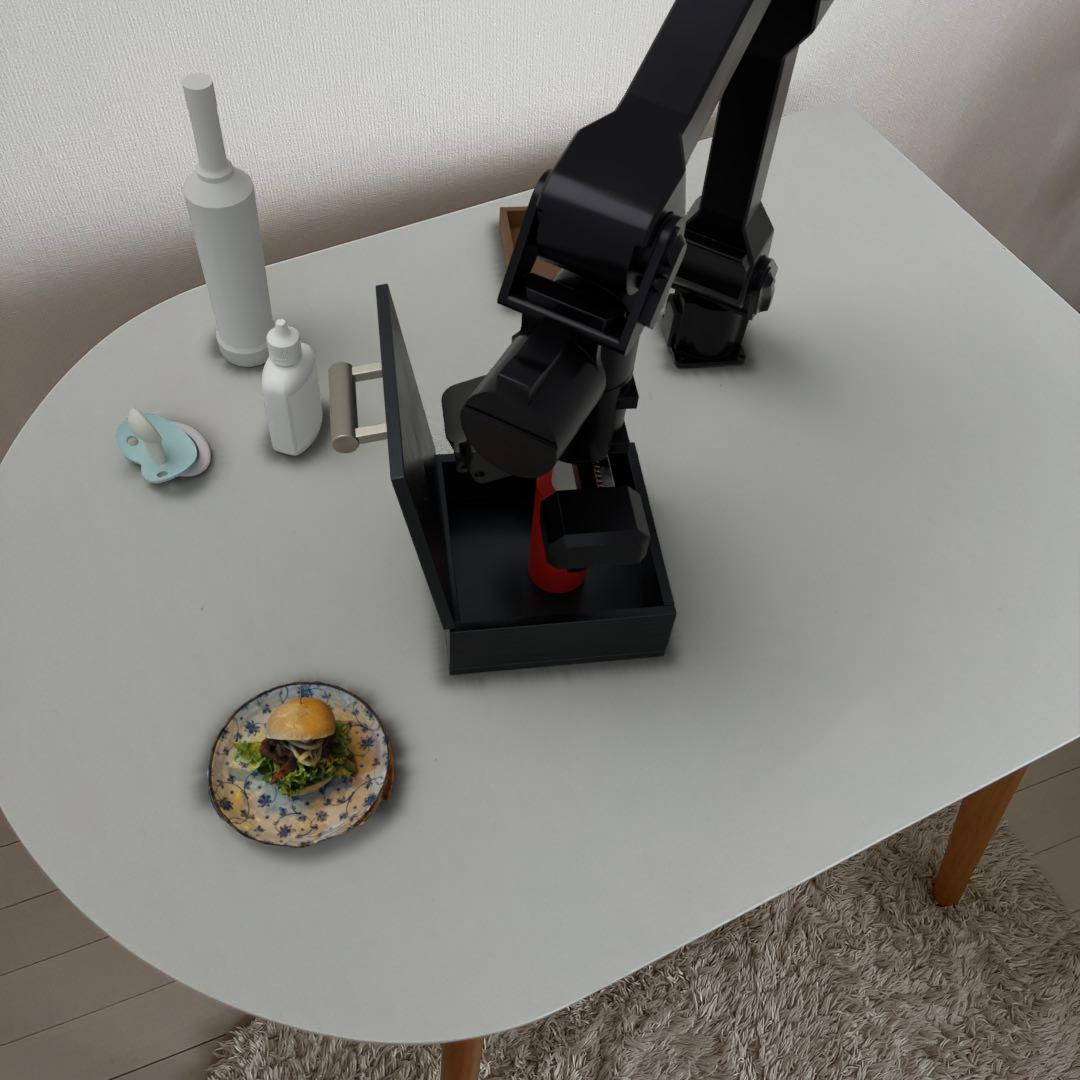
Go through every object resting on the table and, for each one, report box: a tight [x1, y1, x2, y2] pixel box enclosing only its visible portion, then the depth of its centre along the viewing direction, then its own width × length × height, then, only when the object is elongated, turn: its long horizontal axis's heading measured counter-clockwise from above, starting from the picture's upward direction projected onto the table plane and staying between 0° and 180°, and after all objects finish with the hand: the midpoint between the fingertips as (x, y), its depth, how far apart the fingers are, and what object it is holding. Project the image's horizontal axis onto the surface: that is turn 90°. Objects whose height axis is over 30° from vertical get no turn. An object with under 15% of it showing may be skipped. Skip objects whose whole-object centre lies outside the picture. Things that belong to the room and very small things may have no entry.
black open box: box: [436, 441, 678, 676], centre depth 82 cm, size 16×16×6 cm
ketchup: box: [528, 460, 598, 593], centre depth 79 cm, size 4×4×12 cm
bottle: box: [181, 72, 276, 368], centre depth 86 cm, size 5×5×25 cm
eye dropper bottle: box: [261, 318, 323, 456], centre depth 86 cm, size 4×6×12 cm
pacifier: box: [115, 407, 212, 484], centre depth 86 cm, size 7×6×6 cm
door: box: [327, 283, 455, 631], centre depth 71 cm, size 16×16×4 cm
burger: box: [206, 679, 395, 849], centre depth 71 cm, size 12×12×8 cm
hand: (564, 516), depth 78 cm, fingers open, 9 cm apart
